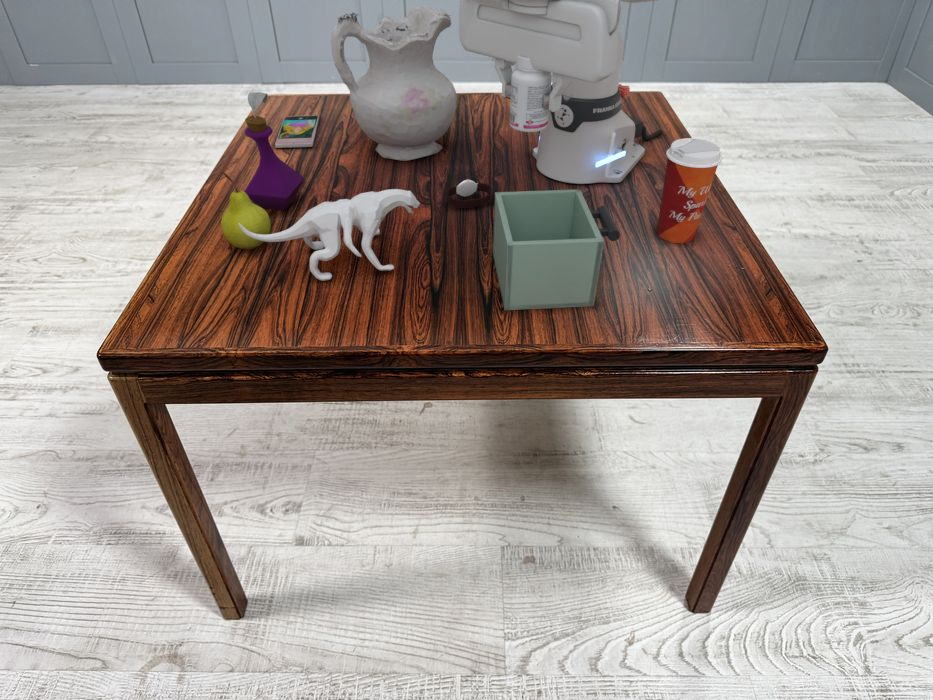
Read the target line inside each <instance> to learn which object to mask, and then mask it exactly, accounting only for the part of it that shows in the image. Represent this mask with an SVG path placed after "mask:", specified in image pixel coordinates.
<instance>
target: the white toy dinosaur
mask: <svg viewBox="0 0 933 700" xmlns="http://www.w3.org/2000/svg"><path fill="white" fill-rule="evenodd" d="M420 205H421V202H419V200H418V198H416V196H415V195H414V193H413V192H412V190H405V189H400V188H391V189H384V190H379V191H366V192H360V193H359V194H356V195H355V196H352V197H351V199H348V198H341V199H340V198H339V199H338V200H336V201H323V202H321V203H319V204H318V205H315V206H314V207H311V208H310V209H308V210H307V211H306V212H305V213H304V214H303V216H301V217H300V218H299V219H298V220H297V221H296V222H295V223H294V224H293V225H292V226H290V227H289V228H286V229H285V230H282V231H278V232H275V233H274V232H273V233H270V234H267V235H263V234H255V233H252V232H250V231H248V230H247V229H245V228H244V227H243V226H242V225H241V224H240V223H238V224H239V226H240V228H241V229H242V231H243V232H244V233H245V234H246V235H247V236H249V237H251V238H254V239H257V240H261V241H264V242H266V243H278V242H279V243H280V242H287V241H292V240H297V239H303V241H304V243H305V244H306V245H307V246H308V247H309V248H310V249H311V250H314V251H313V253H312V254H311V255H310V257H309V271H310V272H311V274H312V275H313V276H314V277H315V279H317V280H318V281H321V282H324V281H325V282H326V281H330V280H332V278H333V274H332V273H331V272H321V271H320V269H319V267H318V266H319V261H323V262H328V261H330V260H333V259H334V258H336V257H337V256H338V255H339V254H340V251H341V245H342V239H341V230H343V231H342V232H343V243H344V245H345V246H346V247H347V248H348V250H350V252H352V253H353V254H354V256H356V257H357V258H358V257H359V258H362V254H361V253H360V252H359V250H357V248H356V247H355V246H354V243H353V238H352V234H353V226H354V227H355V228H356V229H357V230H358V231H360V233H362V237H361V242H360V245H361V249H362V251H363V254H365V256H366V258H367V260H368V261H369V262H370V263H371V264H372V265H373V267H375V268H376V270H378V271H394V269H395V266H394V264H386V265H382V264H381V263H380V260H379V259H378V257H377V255H376V254H375V253H374V251H373V249H372V242H373V239H374V237H375V236H378V235H380V234H381V230H380V226H381V223H382V222H383V221H384V219H385V217H386V216H387V214H388V213H389V212H391V211H393V210H394V209H395V208H397V207H403V208H404V209H405V210H406V212H407V213H408V214H414V211H413V209H418V207H419V206H420ZM410 206H412V207H413V208H412V207H410ZM313 237H316V238H319V240H317V241H313Z"/></svg>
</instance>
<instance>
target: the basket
mask: <svg viewBox="0 0 933 700" xmlns="http://www.w3.org/2000/svg"><path fill="white" fill-rule="evenodd" d="M493 203H494V205H493V206H494V207H493V238H492V239H493V240H492V241H493V242H492V256H493V257H492V258H493V262H494V266H495V272H496V276H497V281H498V287H499V290H500V291H499V292H500V296H501V300H502V305H503V310H504V311H520V310H542V309H561V308H563V309H564V308H584V307H585V308H586V307H595V301H596V295H597V289H598V282H599V275H600V270H601V269H600V268H601V264H602V257H603V252H604V251H603V250H604V244H605V240H604V237H607V239H608V240H609V241H611V242H616V241H618V240H619V239H620V237H621V232H620V229H618V226H617V224H616V222H615V220H614V219H613V217H612V216H613V215H611V212H610V211H609V208H608V207H607V206H606V205H599V206H598V207H597V208H596V210H590V208H589V205H588V204H587V201H586V199H585V197H584V194H583V191H582V190H581V189H578V188H577V189H575V188H574V189H553V190H525V191H520V190H519V191H495V192H494V202H493ZM595 219H598V220H599V222H600V224H601V226H602V228H601V227H600V228H599V227H598V225H597V223H596V220H595Z"/></svg>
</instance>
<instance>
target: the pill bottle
mask: <svg viewBox="0 0 933 700" xmlns="http://www.w3.org/2000/svg"><path fill="white" fill-rule="evenodd" d="M514 66H515V68H514V70H512V71H513V73H512V77H511V96H510V99H509V119H508V120H509V126H510V127H511V128H512V129H513V130H515V131H518V132H524V133H537V132H540V131H541V130H543V129H545V128H546V127H547V125H548V117H549V111H548V110H545V109H543V108H542V104H543V103H544V102H543V95H544V94H547V93H549V92H551V85H552V73H551V72H547V71H543V70H539V69H536V68H533V67H532V65H531V63H530V59H529V58H525V57H521V56H518V57H517V61H516V63H515V64H514Z"/></svg>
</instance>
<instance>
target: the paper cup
mask: <svg viewBox="0 0 933 700" xmlns="http://www.w3.org/2000/svg"><path fill="white" fill-rule="evenodd" d="M721 153H722V152H721V149H720V147H719V146H718V145H717V144H716V143H714V142H711V141H709V140H706V139H702V138H695V137H685V138H679V139H676V140H674V141H672V143H671V144H670V147H669V148H668V149H667V150H666V153H665V155H666V157H667V160H666V168H665V173H664V181H663V186H662V194H661V199H660V206H659V207H660V208H659V215H658V222H657V235H658V237H660V238H661V239H663V240H664V241H666V242H669V243H673V244H686V243H687V244H688V243H689V242H691V241H693V239H694V238H695V235H696V232H697V229H698V227H699V224H700V221H701V218H702V215H703V212H704V210H705V209H704V208H705V206H706V203H707V199H708V196H709V194H710V191H711V188H712V184H713V183H714V179H715V175H716V172H717V169H718V166H719V165H720V164H721V163H722V162H723V161H722V160H723V157H722V155H721Z"/></svg>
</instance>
